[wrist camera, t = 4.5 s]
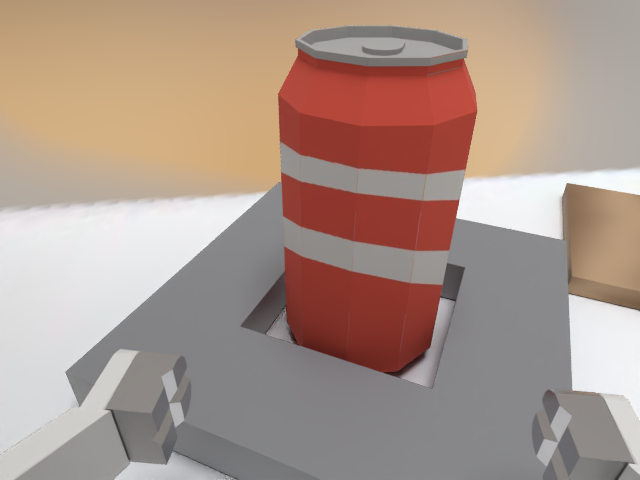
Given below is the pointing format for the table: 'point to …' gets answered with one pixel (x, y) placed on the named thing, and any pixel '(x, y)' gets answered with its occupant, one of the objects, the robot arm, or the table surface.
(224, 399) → the dock
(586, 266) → the coaster pad
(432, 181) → the beverage can
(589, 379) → the table surface
